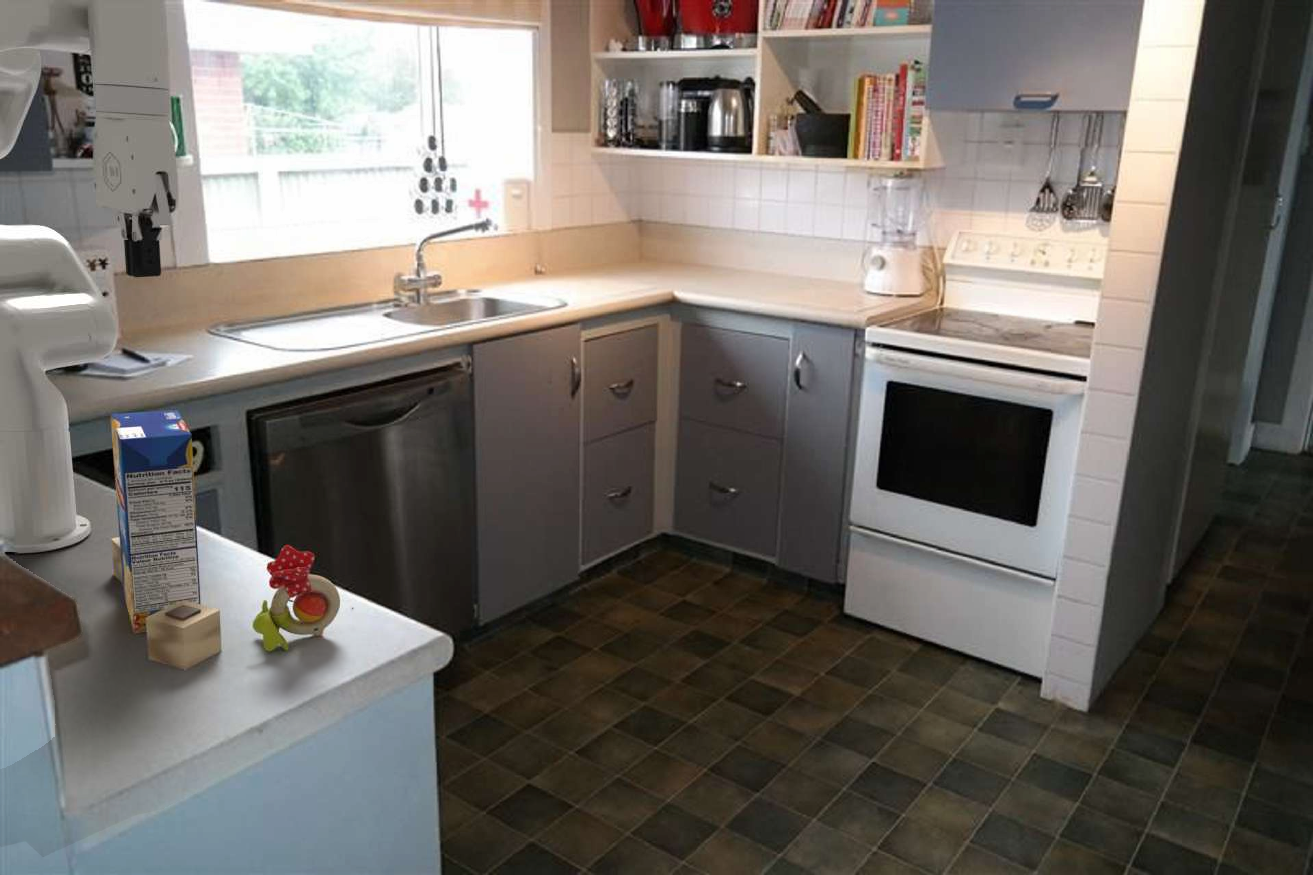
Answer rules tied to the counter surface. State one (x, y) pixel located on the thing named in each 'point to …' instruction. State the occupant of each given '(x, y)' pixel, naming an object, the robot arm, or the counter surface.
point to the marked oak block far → (117, 558)
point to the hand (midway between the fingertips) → (143, 275)
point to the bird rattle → (296, 599)
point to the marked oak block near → (183, 634)
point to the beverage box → (155, 512)
